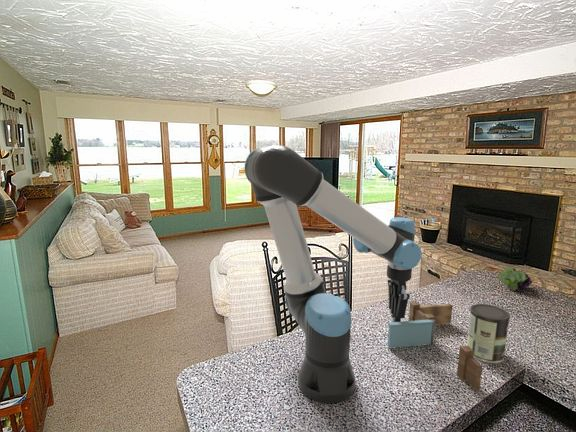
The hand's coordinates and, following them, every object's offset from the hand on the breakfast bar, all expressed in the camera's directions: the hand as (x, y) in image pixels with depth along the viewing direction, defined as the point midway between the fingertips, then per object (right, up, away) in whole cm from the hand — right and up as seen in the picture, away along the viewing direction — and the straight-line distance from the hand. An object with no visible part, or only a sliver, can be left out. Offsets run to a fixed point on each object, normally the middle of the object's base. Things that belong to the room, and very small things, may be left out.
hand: (394, 333), depth 112 cm
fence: (+18, -3, -7) cm, 19 cm away
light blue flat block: (+4, -2, -4) cm, 6 cm away
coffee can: (+25, -4, -8) cm, 27 cm away
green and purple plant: (+67, +6, +40) cm, 78 cm away
